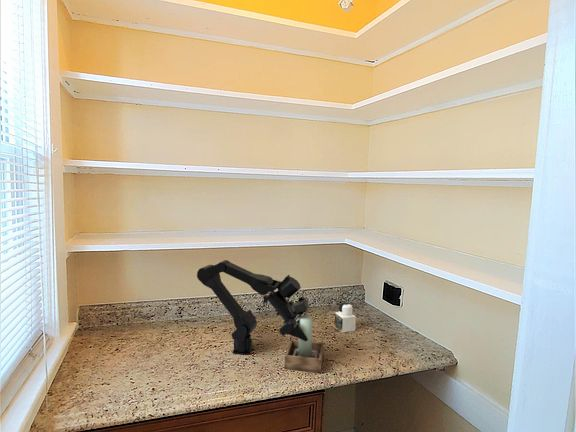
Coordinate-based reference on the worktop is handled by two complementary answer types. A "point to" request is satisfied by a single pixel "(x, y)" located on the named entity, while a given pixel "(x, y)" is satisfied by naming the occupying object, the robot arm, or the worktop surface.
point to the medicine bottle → (345, 318)
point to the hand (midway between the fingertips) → (308, 337)
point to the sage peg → (306, 327)
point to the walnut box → (304, 358)
